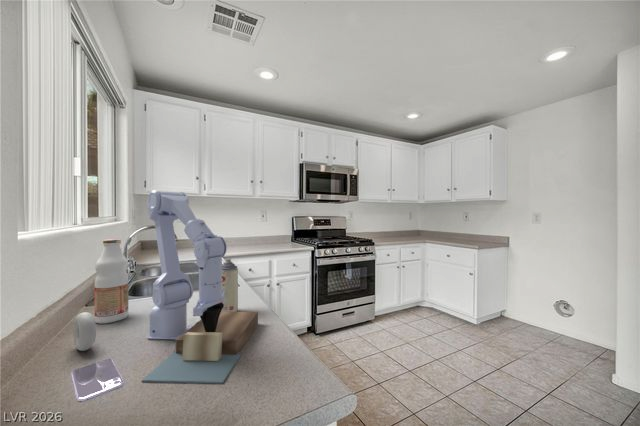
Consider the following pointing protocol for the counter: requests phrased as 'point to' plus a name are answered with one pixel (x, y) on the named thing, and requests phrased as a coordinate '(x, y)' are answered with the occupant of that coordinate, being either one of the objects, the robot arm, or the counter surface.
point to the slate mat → (192, 370)
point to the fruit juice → (111, 284)
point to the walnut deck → (228, 331)
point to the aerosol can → (230, 286)
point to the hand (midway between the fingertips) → (210, 332)
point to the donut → (84, 331)
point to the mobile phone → (96, 379)
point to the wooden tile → (202, 346)
